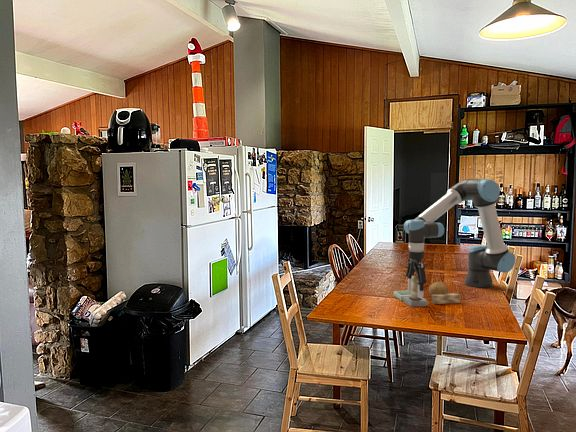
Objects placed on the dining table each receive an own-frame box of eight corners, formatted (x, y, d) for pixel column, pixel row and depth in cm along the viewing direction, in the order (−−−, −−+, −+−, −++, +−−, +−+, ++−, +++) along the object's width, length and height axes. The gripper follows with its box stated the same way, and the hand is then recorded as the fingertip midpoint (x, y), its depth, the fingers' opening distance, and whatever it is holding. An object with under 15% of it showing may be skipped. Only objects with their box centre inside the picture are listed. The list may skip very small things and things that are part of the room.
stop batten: (456, 300, 234) (457, 293, 233) (460, 302, 231) (460, 294, 230) (431, 302, 231) (431, 294, 231) (434, 304, 228) (434, 296, 228)
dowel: (417, 302, 232) (417, 275, 230) (420, 304, 228) (421, 277, 226) (409, 302, 231) (410, 275, 229) (413, 305, 227) (413, 277, 226)
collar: (419, 300, 234) (419, 295, 234) (427, 305, 226) (427, 300, 225) (403, 301, 233) (403, 296, 233) (410, 306, 224) (410, 301, 224)
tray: (414, 294, 246) (414, 290, 246) (422, 299, 236) (422, 294, 236) (393, 295, 244) (393, 291, 244) (401, 300, 234) (401, 296, 234)
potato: (426, 301, 234) (427, 285, 233) (430, 294, 247) (430, 279, 246) (446, 303, 230) (447, 287, 229) (449, 296, 243) (449, 281, 242)
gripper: (399, 247, 238) (399, 288, 240) (419, 255, 215) (418, 300, 217) (413, 246, 239) (412, 287, 241) (434, 254, 216) (433, 299, 218)
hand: (415, 293), depth 229 cm, fingers open, 11 cm apart
